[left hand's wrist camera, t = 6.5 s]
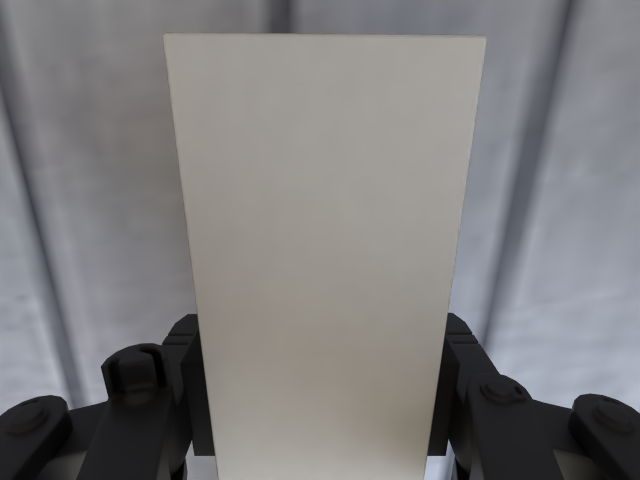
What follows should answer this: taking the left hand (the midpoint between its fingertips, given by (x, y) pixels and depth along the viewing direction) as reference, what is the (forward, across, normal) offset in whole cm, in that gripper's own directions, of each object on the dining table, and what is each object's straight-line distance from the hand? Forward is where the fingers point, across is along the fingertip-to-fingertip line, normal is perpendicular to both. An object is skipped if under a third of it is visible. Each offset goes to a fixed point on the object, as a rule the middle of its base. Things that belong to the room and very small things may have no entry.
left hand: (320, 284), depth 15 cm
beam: (+1, 0, -26) cm, 26 cm away
